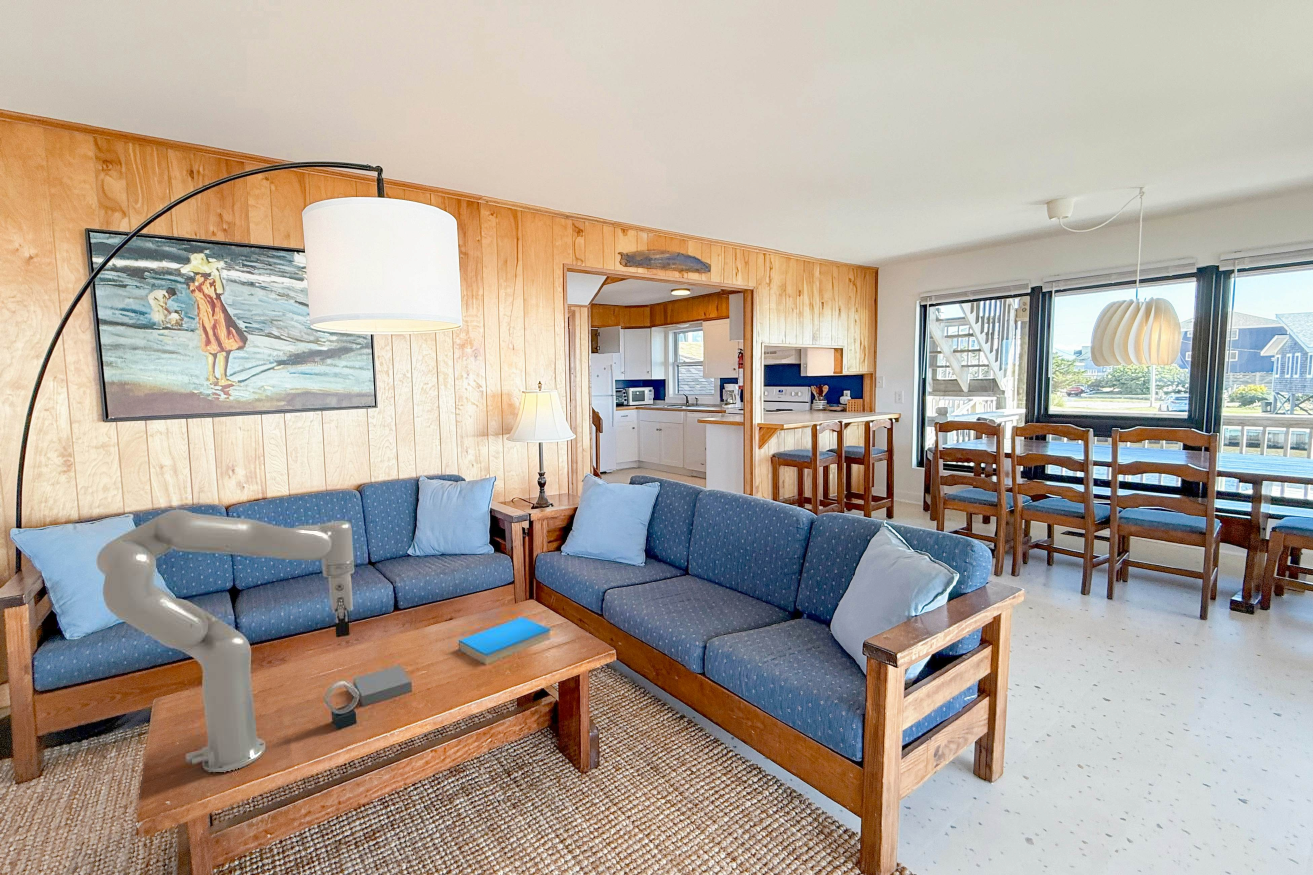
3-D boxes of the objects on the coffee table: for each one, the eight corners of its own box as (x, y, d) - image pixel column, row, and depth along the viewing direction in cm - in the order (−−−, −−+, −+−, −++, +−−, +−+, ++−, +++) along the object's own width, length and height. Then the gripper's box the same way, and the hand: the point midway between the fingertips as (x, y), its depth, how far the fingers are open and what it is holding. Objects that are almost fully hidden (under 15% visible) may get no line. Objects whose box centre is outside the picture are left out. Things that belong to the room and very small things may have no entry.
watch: (364, 720, 165) (361, 680, 163) (331, 732, 159) (328, 692, 158) (357, 712, 169) (353, 673, 168) (324, 724, 163) (321, 684, 162)
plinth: (363, 706, 172) (362, 696, 171) (354, 687, 182) (353, 678, 182) (412, 691, 179) (411, 681, 179) (400, 674, 190) (399, 664, 189)
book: (550, 628, 212) (486, 653, 193) (551, 640, 212) (486, 666, 194) (521, 616, 223) (457, 638, 205) (521, 627, 224) (458, 651, 205)
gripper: (354, 574, 161) (359, 638, 163) (353, 557, 176) (357, 616, 178) (321, 579, 158) (326, 644, 159) (323, 561, 173) (327, 621, 175)
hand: (342, 629), depth 169 cm, fingers open, 9 cm apart
